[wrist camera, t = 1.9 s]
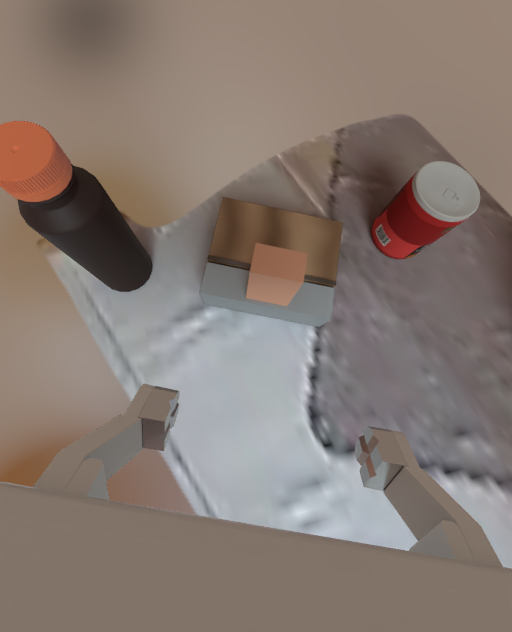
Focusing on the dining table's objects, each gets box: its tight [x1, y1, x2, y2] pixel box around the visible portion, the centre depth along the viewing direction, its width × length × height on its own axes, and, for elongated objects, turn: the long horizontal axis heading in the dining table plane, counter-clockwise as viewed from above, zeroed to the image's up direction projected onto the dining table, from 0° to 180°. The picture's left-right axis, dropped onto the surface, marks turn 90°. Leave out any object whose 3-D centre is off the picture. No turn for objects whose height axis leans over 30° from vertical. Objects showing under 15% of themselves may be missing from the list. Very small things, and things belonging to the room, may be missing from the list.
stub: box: [199, 243, 335, 327], centre depth 32 cm, size 16×4×13 cm, turn 79°
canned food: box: [371, 161, 480, 259], centre depth 37 cm, size 8×8×11 cm
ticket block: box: [207, 197, 343, 288], centre depth 37 cm, size 16×9×5 cm, turn 79°
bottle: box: [0, 121, 152, 292], centre depth 28 cm, size 7×7×20 cm
